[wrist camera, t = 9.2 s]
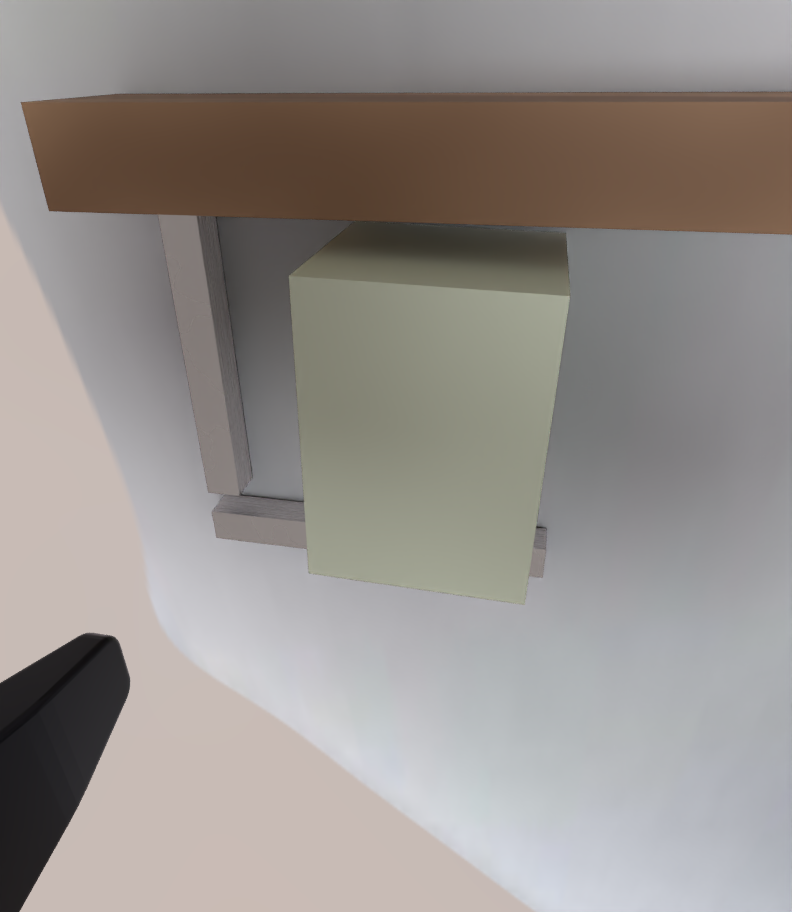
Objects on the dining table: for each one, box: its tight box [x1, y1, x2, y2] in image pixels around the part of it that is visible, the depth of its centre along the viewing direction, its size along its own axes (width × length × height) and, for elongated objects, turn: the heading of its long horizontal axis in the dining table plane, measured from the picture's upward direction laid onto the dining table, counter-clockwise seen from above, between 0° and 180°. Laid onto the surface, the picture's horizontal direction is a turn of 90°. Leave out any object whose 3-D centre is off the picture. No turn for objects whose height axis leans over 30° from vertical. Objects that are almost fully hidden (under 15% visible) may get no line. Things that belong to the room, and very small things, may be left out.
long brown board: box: [21, 92, 792, 234], centre depth 13 cm, size 2×24×4 cm, turn 91°
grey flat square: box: [158, 215, 546, 578], centre depth 18 cm, size 10×10×1 cm
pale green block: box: [289, 221, 570, 605], centre depth 16 cm, size 8×5×5 cm, turn 179°
